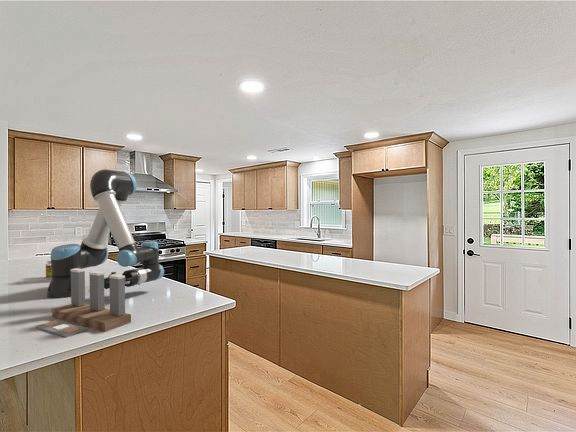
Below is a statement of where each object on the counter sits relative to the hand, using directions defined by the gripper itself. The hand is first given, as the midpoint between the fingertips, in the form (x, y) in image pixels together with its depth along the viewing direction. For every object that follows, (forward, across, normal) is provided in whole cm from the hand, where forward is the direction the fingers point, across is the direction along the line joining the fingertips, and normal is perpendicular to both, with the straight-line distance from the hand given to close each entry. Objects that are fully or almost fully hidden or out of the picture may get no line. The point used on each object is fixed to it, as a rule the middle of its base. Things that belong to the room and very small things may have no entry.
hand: (83, 289), depth 131 cm
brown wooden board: (+4, -11, -9) cm, 15 cm away
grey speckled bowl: (-43, +42, -10) cm, 61 cm away
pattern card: (+15, -11, -9) cm, 20 cm away
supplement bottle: (-29, +78, -10) cm, 84 cm away
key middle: (+2, -11, -6) cm, 13 cm away
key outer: (+2, -23, -6) cm, 24 cm away
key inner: (+2, +1, -6) cm, 6 cm away
